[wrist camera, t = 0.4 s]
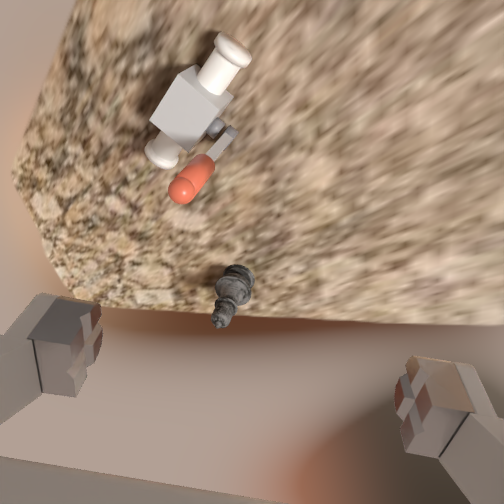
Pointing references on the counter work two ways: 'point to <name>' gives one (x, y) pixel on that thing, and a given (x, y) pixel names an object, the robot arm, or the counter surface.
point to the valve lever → (199, 170)
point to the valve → (196, 102)
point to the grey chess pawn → (231, 293)
